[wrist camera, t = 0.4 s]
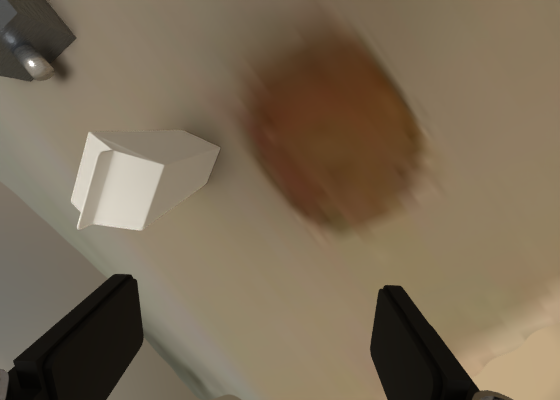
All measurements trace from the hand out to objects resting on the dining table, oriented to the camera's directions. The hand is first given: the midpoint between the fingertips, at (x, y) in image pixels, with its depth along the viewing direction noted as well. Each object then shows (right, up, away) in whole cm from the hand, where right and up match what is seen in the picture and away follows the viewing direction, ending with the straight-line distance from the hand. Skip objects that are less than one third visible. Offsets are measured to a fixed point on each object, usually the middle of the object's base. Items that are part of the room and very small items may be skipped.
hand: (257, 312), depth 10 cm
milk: (-12, +11, +29) cm, 33 cm away
